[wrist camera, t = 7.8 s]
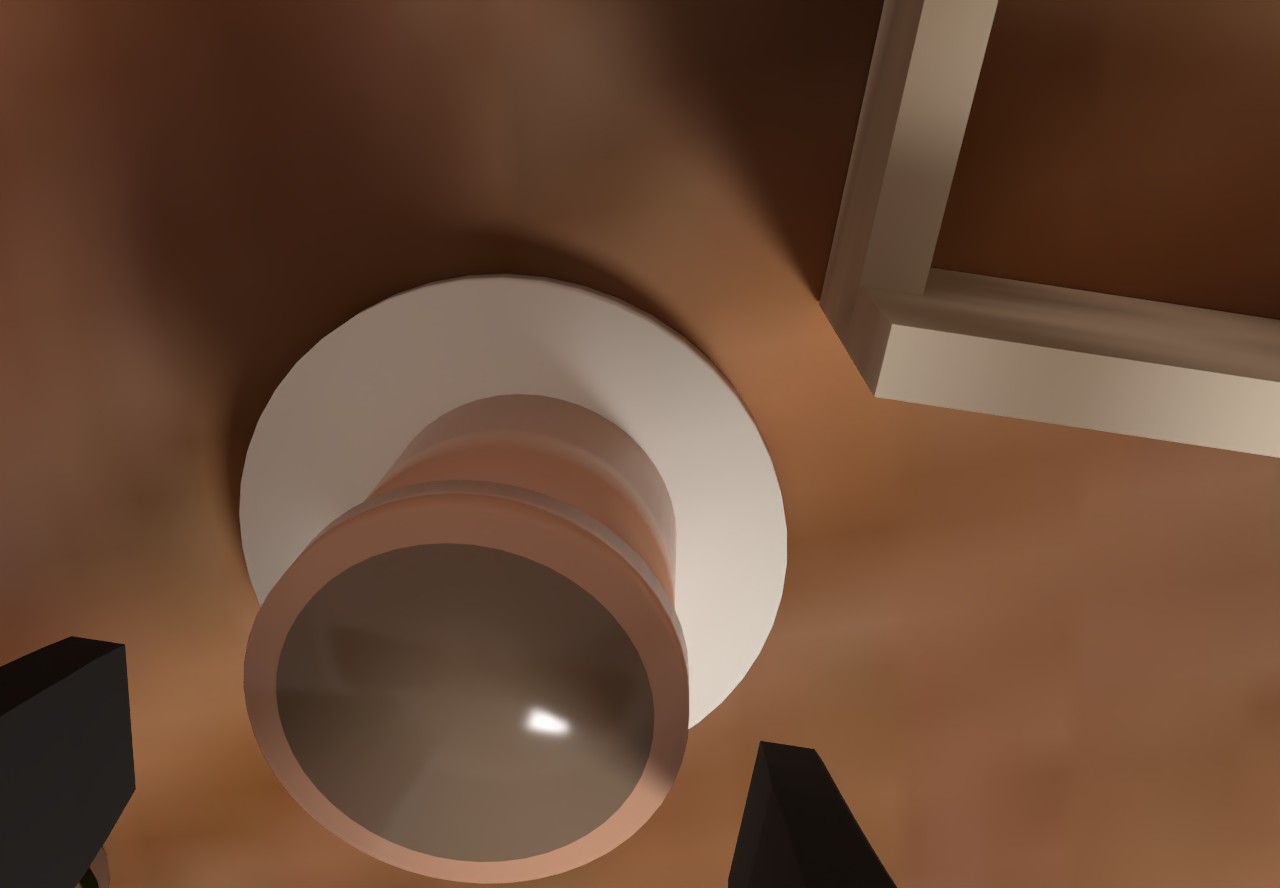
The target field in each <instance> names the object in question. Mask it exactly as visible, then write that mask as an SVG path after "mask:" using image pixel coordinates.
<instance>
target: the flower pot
mask: <svg viewBox="0 0 1280 888" xmlns="http://www.w3.org/2000/svg"><path fill="white" fill-rule="evenodd" d="M676 543H677V532H676V520H675V514H674V510H673V505H672V501H671V498H670V495H669V493H668V490H667V488H666V485H665V482H664V481H663V479H662V477H661V475H660V473H659V472H658V470H657V468H656V466H655V465H654V463H653V462H652V461H651V459H650V458H649V457H648V455H647V454H646V453H645V451H644V450H643V449H642V448H641V447H640V446H639V445H638V444H637V443H636V442H635V441H634V440H633V439H632V438H631V437H630V436H629V435H628V434H627V433H625V432H624V431H623V430H622V429H620V428H619V427H618V426H617V425H615V424H614V423H612V422H611V421H609V420H607V419H606V418H604V417H602V416H601V415H599V414H598V413H595V412H593V411H591V410H589V409H587V408H584V407H582V406H580V405H577V404H574V403H571V402H568V401H565V400H561V399H558V398H552V397H546V396H541V395H528V394H511V395H498V396H493V397H488V398H483V399H478V400H475V401H473V402H470V403H467V404H464V405H461V406H459V407H457V408H455V409H453V410H451V411H449V412H447V413H445V414H443V415H442V416H440V417H439V418H437V419H436V420H434V421H433V422H431V423H430V424H429V425H427V426H426V427H425V428H424V429H423V430H422V431H421V432H420V433H419V434H418V435H417V436H416V437H414V439H413V440H412V441H411V442H410V444H409V445H408V446H407V447H406V449H405V450H404V451H403V452H402V454H401V455H400V456H399V458H398V459H397V460H396V461H395V463H394V464H393V465H392V466H391V468H390V469H389V470H388V472H387V473H386V474H385V475H384V477H383V478H382V479H381V480H380V482H379V483H378V484H377V486H376V487H375V488H374V489H373V491H372V492H371V493H370V494H369V496H368V497H367V498H366V500H365V501H364V502H363V503H361V504H359V505H357V506H355V507H353V508H351V509H350V510H348V511H347V512H345V513H344V514H342V515H341V516H339V517H338V518H336V519H335V520H334V521H332V522H331V523H330V524H329V525H327V526H326V527H325V528H324V529H323V530H322V531H321V532H320V533H319V534H318V535H317V536H316V537H315V538H313V539H312V541H311V542H310V543H309V544H308V545H307V547H306V548H305V549H304V550H303V551H302V553H301V554H300V555H299V556H298V557H297V559H296V560H295V561H294V562H293V563H292V565H291V566H290V567H289V568H288V569H287V571H286V572H285V573H284V574H283V576H282V577H281V578H280V579H279V581H278V582H277V583H276V584H275V586H274V587H273V588H272V590H271V591H270V592H269V594H268V595H267V597H266V599H265V601H264V603H263V604H262V606H261V608H260V610H259V612H258V613H257V616H256V618H255V621H254V624H253V627H252V630H251V632H250V635H249V638H248V644H247V649H246V655H245V660H244V692H245V699H246V706H247V712H248V715H249V719H250V722H251V726H252V729H253V733H254V735H255V738H256V740H257V742H258V744H259V747H260V749H261V751H262V753H263V755H264V758H265V759H266V761H267V762H268V764H269V766H270V767H271V769H272V771H273V772H274V774H275V775H276V777H277V779H278V780H279V781H280V782H281V784H282V785H283V786H284V787H285V789H286V790H287V791H288V792H289V794H290V795H291V796H292V797H293V799H294V800H295V801H296V802H297V803H298V804H299V805H300V806H301V807H302V808H303V809H304V810H305V811H306V812H307V813H308V814H309V815H310V816H311V817H312V818H314V819H315V820H316V821H317V822H319V823H320V824H321V825H323V826H324V827H325V828H326V829H328V830H329V831H330V832H331V833H333V834H334V835H336V836H337V837H339V838H340V839H342V840H343V841H345V842H347V843H348V844H350V845H351V846H353V847H355V848H356V849H358V850H360V851H362V852H364V853H366V854H368V855H370V856H372V857H374V858H376V859H378V860H380V861H383V862H386V863H388V864H391V865H393V866H396V867H399V868H401V869H404V870H407V871H411V872H414V873H418V874H422V875H425V876H429V877H434V878H439V879H445V880H451V881H457V882H470V883H484V884H485V883H512V882H520V881H527V880H534V879H540V878H544V877H548V876H552V875H556V874H560V873H563V872H566V871H569V870H571V869H574V868H577V867H579V866H582V865H585V864H587V863H589V862H591V861H593V860H595V859H597V858H598V857H600V856H602V855H604V854H606V853H608V852H610V851H611V850H612V849H614V848H615V847H617V846H618V845H620V844H621V843H623V842H624V841H626V840H627V839H628V838H629V837H630V836H632V835H633V834H634V833H635V832H636V831H637V830H638V829H639V828H640V827H642V826H643V825H644V824H645V823H646V822H647V821H648V819H649V818H650V817H651V816H652V815H653V813H654V812H655V811H656V810H657V808H658V807H659V806H660V805H661V803H662V802H663V800H664V798H665V797H666V795H667V793H668V792H669V790H670V788H671V787H672V785H673V783H674V781H675V778H676V776H677V773H678V771H679V769H680V766H681V764H682V760H683V756H684V752H685V748H686V743H687V739H688V725H689V665H688V653H687V647H686V643H685V639H684V635H683V630H682V626H681V624H680V621H679V619H678V616H677V614H676V611H675V579H676Z"/></svg>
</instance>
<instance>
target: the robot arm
mask: <svg viewBox="0 0 1280 888" xmlns="http://www.w3.org/2000/svg"><path fill="white" fill-rule="evenodd" d="M135 789H136V787H135V774H134V760H133V747H132V733H131V719H130V706H129V692H128V679H127V665H126V652H125V644H119V643H112V642H106V641H99V640H92V639H86V638H79V637H73V636H71V637H69V638H66V639H64V640H61V641H59V642H56V643H53V644H51V645H48V646H46V647H44V648H41V649H39V650H37V651H34V652H32V653H30V654H28V655H25V656H23V657H21V658H19V659H16V660H14V661H12V662H10V663H8V664H6V665H3V666H1V667H0V888H75V887H76V885H77V884H78V883H79V881H80V880H81V879H82V877H83V876H84V875H85V873H86V871H87V870H88V868H89V867H90V865H91V863H92V862H93V860H94V859H95V857H96V855H97V854H98V852H99V850H100V849H101V847H102V846H103V844H104V842H105V841H106V839H107V838H108V836H109V834H110V832H111V831H112V829H113V827H114V826H115V824H116V822H117V820H118V819H119V817H120V815H121V813H122V812H123V810H124V808H125V806H126V805H127V803H128V801H129V799H130V798H131V796H132V794H133V793H134V791H135ZM728 888H897V887H896V885H895V884H894V882H893V880H892V879H891V877H890V876H889V874H888V873H887V871H886V870H885V868H884V866H883V865H882V863H881V861H880V860H879V858H878V857H877V855H876V853H875V852H874V850H873V848H872V847H871V845H870V843H869V842H868V840H867V838H866V837H865V835H864V833H863V831H862V830H861V828H860V826H859V825H858V823H857V821H856V820H855V818H854V816H853V814H852V813H851V811H850V809H849V807H848V806H847V804H846V802H845V800H844V799H843V797H842V795H841V793H840V792H839V790H838V788H837V786H836V784H835V783H834V781H833V779H832V777H831V775H830V774H829V772H828V770H827V768H826V766H825V765H824V763H823V761H822V759H821V758H820V756H819V755H818V754H817V752H816V751H815V749H810V748H803V747H797V746H790V745H784V744H777V743H770V742H764V741H760V745H759V749H758V753H757V758H756V762H755V766H754V770H753V775H752V779H751V783H750V788H749V792H748V796H747V801H746V805H745V809H744V814H743V818H742V822H741V827H740V831H739V835H738V840H737V844H736V848H735V853H734V857H733V861H732V865H731V870H730V874H729V878H728Z"/></svg>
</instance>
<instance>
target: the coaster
mask: <svg viewBox="0 0 1280 888" xmlns="http://www.w3.org/2000/svg"><path fill="white" fill-rule="evenodd" d="M511 394H528V395H541V396H546V397H552V398H558V399H561V400H565V401H568V402H571V403H574V404H577V405H580V406H582V407H584V408H587V409H589V410H591V411H593V412H595V413H598V414H599V415H601V416H602V417H604V418H606V419H607V420H609V421H611V422H612V423H614V424H615V425H617V426H618V427H619V428H620V429H622V430H623V431H624V432H625V433H627V434H628V435H629V436H630V437H631V438H632V439H633V440H634V441H635V442H636V443H637V444H638V445H639V446H640V447H641V448H642V449H643V450H644V451H645V453H646V454H647V455H648V457H649V458H650V459H651V461H652V462H653V463H654V465H655V466H656V468H657V470H658V472H659V473H660V475H661V477H662V479H663V481H664V482H665V485H666V488H667V490H668V493H669V495H670V498H671V501H672V505H673V510H674V514H675V520H676V532H677V543H676V579H675V611H676V614H677V616H678V619H679V621H680V624H681V626H682V630H683V635H684V639H685V643H686V647H687V653H688V665H689V725H688V729H690V728H691V727H693V726H694V725H696V724H697V723H699V722H700V721H701V720H702V719H703V718H704V717H706V716H707V715H708V714H709V713H710V712H711V711H713V710H714V709H715V708H716V707H717V706H718V705H719V704H721V703H722V702H723V701H724V700H725V698H726V697H727V696H728V695H729V694H730V693H731V692H732V690H733V689H734V688H735V687H736V686H737V685H738V684H739V682H740V681H741V680H742V679H743V678H744V676H745V675H746V673H747V672H748V670H749V669H750V667H751V665H752V664H753V662H754V661H755V659H756V658H757V656H758V655H759V653H760V651H761V649H762V647H763V645H764V643H765V641H766V639H767V637H768V634H769V632H770V630H771V628H772V626H773V623H774V620H775V617H776V613H777V610H778V607H779V603H780V600H781V597H782V592H783V586H784V579H785V572H786V566H787V528H786V521H785V515H784V508H783V501H782V495H781V491H780V487H779V482H778V479H777V475H776V472H775V469H774V465H773V462H772V459H771V455H770V452H769V449H768V447H767V445H766V443H765V441H764V438H763V436H762V434H761V432H760V430H759V428H758V425H757V423H756V421H755V419H754V417H753V416H752V414H751V413H750V411H749V410H748V408H747V407H746V405H745V403H744V402H743V400H742V399H741V397H740V396H739V394H738V393H737V391H736V389H735V388H734V387H733V386H732V385H731V384H730V382H729V381H728V380H727V379H726V378H725V376H724V375H723V374H722V373H721V372H720V371H719V369H718V368H717V367H716V366H715V365H714V364H713V362H712V361H711V360H709V359H708V358H707V357H706V356H705V355H704V354H703V353H702V352H701V351H699V350H698V349H697V348H696V347H695V346H694V345H693V344H692V343H690V342H689V341H688V340H687V339H686V338H685V337H684V336H682V335H681V334H679V333H678V332H676V331H675V330H673V329H672V328H671V327H669V326H668V325H666V324H665V323H663V322H662V321H660V320H659V319H657V318H656V317H654V316H653V315H651V314H649V313H647V312H645V311H643V310H641V309H639V308H637V307H635V306H633V305H631V304H630V303H628V302H626V301H624V300H622V299H620V298H617V297H615V296H612V295H609V294H606V293H603V292H601V291H598V290H595V289H592V288H589V287H587V286H584V285H580V284H576V283H571V282H566V281H562V280H557V279H552V278H548V277H542V276H530V275H518V274H485V275H467V276H462V277H456V278H451V279H445V280H440V281H434V282H430V283H427V284H424V285H421V286H418V287H415V288H412V289H409V290H406V291H403V292H400V293H397V294H395V295H393V296H391V297H389V298H387V299H385V300H383V301H381V302H379V303H377V304H375V305H373V306H371V307H369V308H367V309H365V310H363V311H362V312H360V313H359V314H357V315H356V316H354V317H353V318H351V319H350V320H348V321H347V322H346V323H344V324H343V325H341V326H340V327H338V328H337V329H335V330H334V331H333V332H331V333H330V334H328V335H327V336H325V337H324V338H322V339H321V340H320V341H319V342H318V343H317V344H316V345H315V346H314V347H313V348H312V349H311V350H310V351H309V352H307V353H306V354H305V355H304V356H303V357H302V358H301V359H300V360H299V361H298V362H297V363H296V364H295V365H294V367H293V368H292V369H291V370H290V372H289V373H288V374H287V376H286V377H285V378H284V379H283V381H282V382H281V383H280V385H279V386H278V387H277V388H276V390H275V391H274V393H273V395H272V397H271V399H270V400H269V402H268V404H267V406H266V407H265V409H264V411H263V413H262V415H261V416H260V418H259V420H258V423H257V426H256V429H255V431H254V434H253V437H252V439H251V442H250V445H249V447H248V450H247V455H246V460H245V465H244V470H243V474H242V479H241V491H240V509H239V517H240V528H241V539H242V547H243V552H244V556H245V560H246V565H247V569H248V573H249V577H250V580H251V583H252V585H253V588H254V590H255V593H256V596H257V598H258V601H259V604H260V606H262V604H263V603H264V601H265V599H266V597H267V595H268V594H269V592H270V591H271V590H272V588H273V587H274V586H275V584H276V583H277V582H278V581H279V579H280V578H281V577H282V576H283V574H284V573H285V572H286V571H287V569H288V568H289V567H290V566H291V565H292V563H293V562H294V561H295V560H296V559H297V557H298V556H299V555H300V554H301V553H302V551H303V550H304V549H305V548H306V547H307V545H308V544H309V543H310V542H311V541H312V539H313V538H315V537H316V536H317V535H318V534H319V533H320V532H321V531H322V530H323V529H324V528H325V527H326V526H327V525H329V524H330V523H331V522H332V521H334V520H335V519H336V518H338V517H339V516H341V515H342V514H344V513H345V512H347V511H348V510H350V509H351V508H353V507H355V506H357V505H359V504H361V503H363V502H364V501H365V500H366V498H367V497H368V496H369V494H370V493H371V492H372V491H373V489H374V488H375V487H376V486H377V484H378V483H379V482H380V480H381V479H382V478H383V477H384V475H385V474H386V473H387V472H388V470H389V469H390V468H391V466H392V465H393V464H394V463H395V461H396V460H397V459H398V458H399V456H400V455H401V454H402V452H403V451H404V450H405V449H406V447H407V446H408V445H409V444H410V442H411V441H412V440H413V439H414V437H416V436H417V435H418V434H419V433H420V432H421V431H422V430H423V429H424V428H425V427H426V426H427V425H429V424H430V423H431V422H433V421H434V420H436V419H437V418H439V417H440V416H442V415H443V414H445V413H447V412H449V411H451V410H453V409H455V408H457V407H459V406H461V405H464V404H467V403H470V402H473V401H475V400H478V399H483V398H488V397H493V396H498V395H511Z"/></svg>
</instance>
